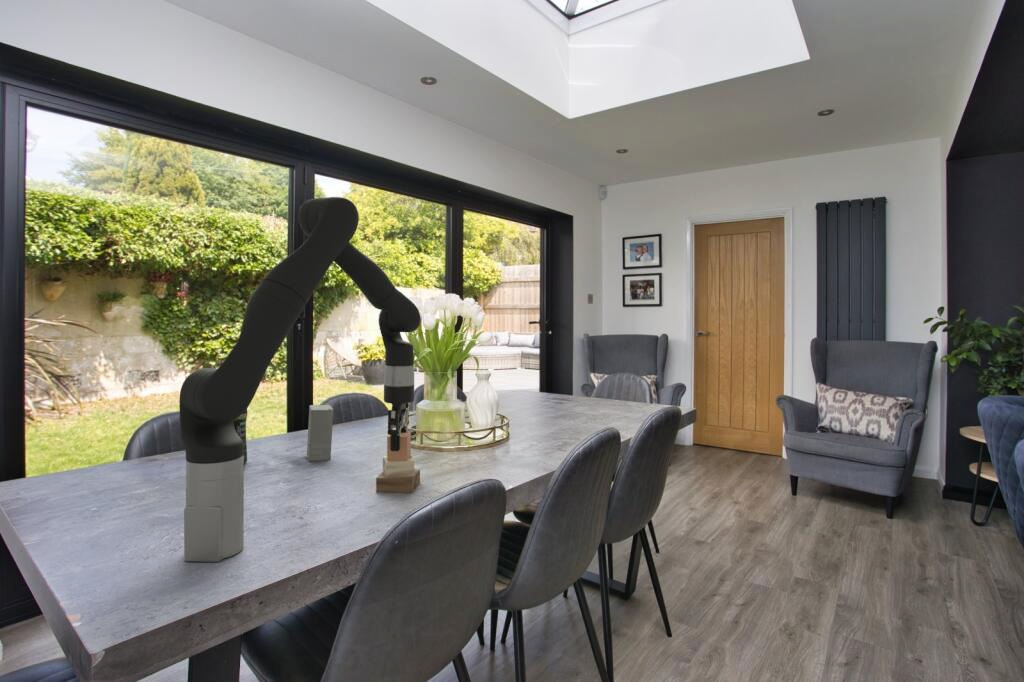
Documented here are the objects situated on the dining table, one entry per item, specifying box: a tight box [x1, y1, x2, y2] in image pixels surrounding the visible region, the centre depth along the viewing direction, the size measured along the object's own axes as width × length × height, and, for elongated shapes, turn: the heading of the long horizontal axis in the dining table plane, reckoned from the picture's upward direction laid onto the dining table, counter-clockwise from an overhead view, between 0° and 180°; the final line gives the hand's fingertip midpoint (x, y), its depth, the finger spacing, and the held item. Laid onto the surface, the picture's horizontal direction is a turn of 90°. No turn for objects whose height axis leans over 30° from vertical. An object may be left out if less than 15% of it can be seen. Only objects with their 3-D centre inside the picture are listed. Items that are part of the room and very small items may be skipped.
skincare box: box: [306, 404, 334, 462], centre depth 169 cm, size 8×7×16 cm
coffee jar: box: [233, 408, 249, 465], centre depth 158 cm, size 10×8×19 cm
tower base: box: [375, 468, 421, 494], centre depth 141 cm, size 9×9×4 cm
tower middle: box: [382, 455, 415, 479], centre depth 140 cm, size 7×7×4 cm
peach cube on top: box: [386, 432, 412, 461], centre depth 140 cm, size 5×5×6 cm
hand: (398, 447), depth 140 cm, fingers open, 8 cm apart
